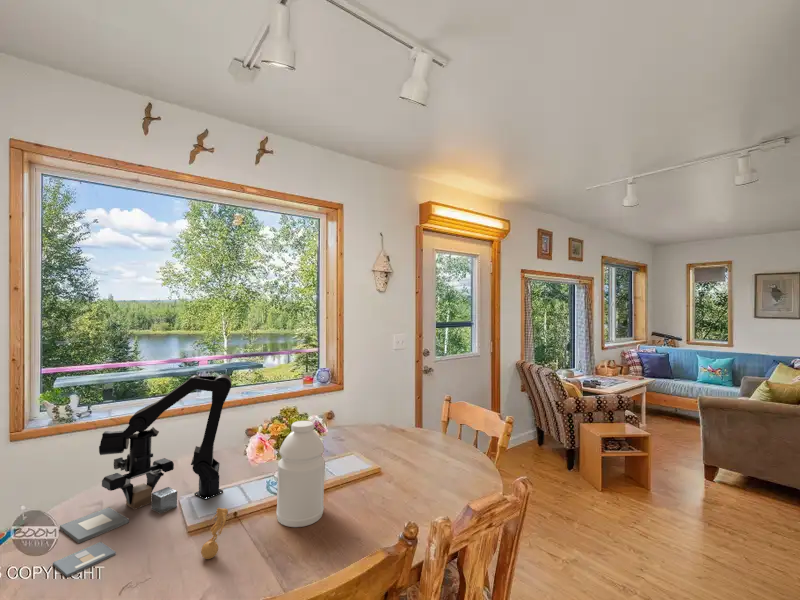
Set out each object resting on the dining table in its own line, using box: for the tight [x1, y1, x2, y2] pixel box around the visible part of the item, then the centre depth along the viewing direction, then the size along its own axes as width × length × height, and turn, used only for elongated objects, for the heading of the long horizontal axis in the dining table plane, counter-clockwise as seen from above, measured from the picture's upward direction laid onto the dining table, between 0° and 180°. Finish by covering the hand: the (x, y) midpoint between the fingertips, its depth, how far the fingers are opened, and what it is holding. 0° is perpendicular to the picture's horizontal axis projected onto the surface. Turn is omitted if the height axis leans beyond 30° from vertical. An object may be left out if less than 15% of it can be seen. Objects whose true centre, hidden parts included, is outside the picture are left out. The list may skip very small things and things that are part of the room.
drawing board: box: [52, 541, 117, 578], centre depth 98 cm, size 8×10×1 cm
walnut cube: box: [125, 482, 153, 510], centre depth 126 cm, size 5×5×5 cm
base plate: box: [59, 507, 130, 544], centre depth 113 cm, size 12×12×1 cm
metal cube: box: [150, 486, 178, 514], centre depth 123 cm, size 5×5×5 cm
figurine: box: [200, 507, 229, 560], centre depth 101 cm, size 8×6×12 cm
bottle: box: [275, 420, 326, 528], centre depth 121 cm, size 14×14×28 cm
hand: (138, 500), depth 126 cm, fingers closed on walnut cube, 5 cm apart
